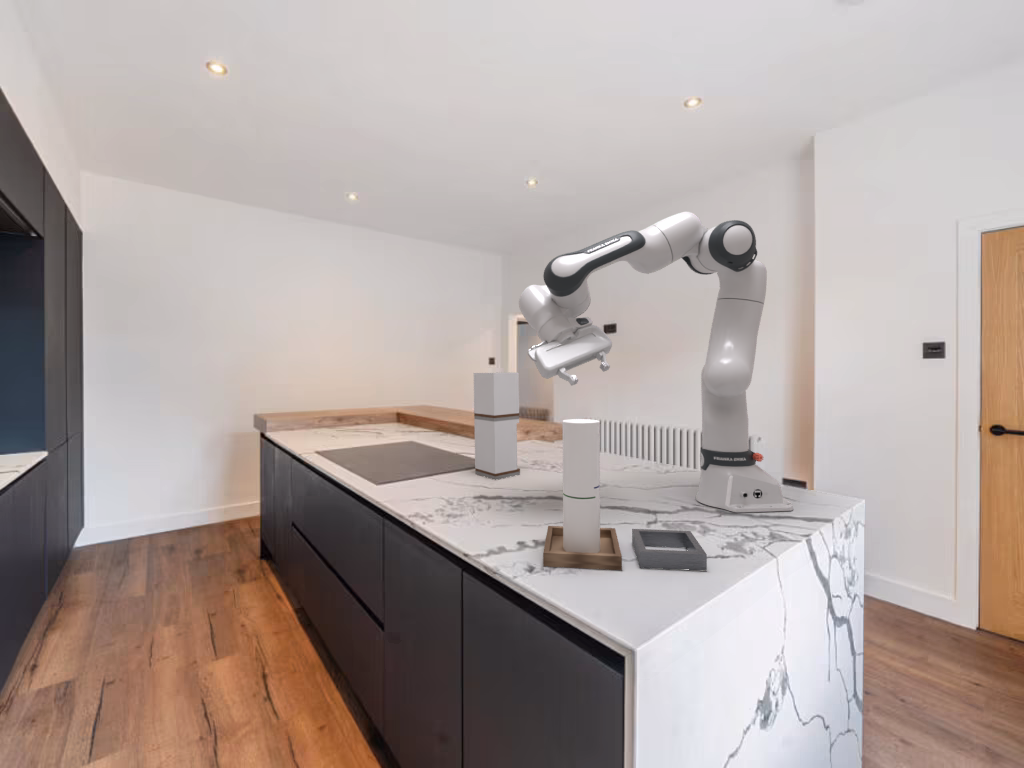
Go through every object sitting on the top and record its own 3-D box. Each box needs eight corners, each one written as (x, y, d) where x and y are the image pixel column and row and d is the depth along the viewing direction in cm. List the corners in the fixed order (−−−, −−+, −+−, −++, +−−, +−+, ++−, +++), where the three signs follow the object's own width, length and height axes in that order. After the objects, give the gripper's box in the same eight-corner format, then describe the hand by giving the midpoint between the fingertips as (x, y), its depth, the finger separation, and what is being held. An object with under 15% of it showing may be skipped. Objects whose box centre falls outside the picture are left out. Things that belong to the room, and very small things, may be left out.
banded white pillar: (520, 474, 151) (518, 372, 150) (495, 480, 144) (493, 372, 143) (499, 469, 160) (498, 372, 159) (475, 474, 153) (473, 373, 152)
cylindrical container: (607, 547, 87) (606, 420, 86) (587, 558, 82) (586, 424, 81) (576, 538, 92) (576, 418, 91) (556, 548, 86) (555, 421, 86)
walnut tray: (615, 540, 92) (615, 528, 92) (621, 570, 79) (621, 556, 79) (548, 537, 95) (548, 525, 94) (543, 566, 81) (543, 552, 81)
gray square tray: (690, 545, 89) (690, 530, 89) (706, 571, 78) (706, 554, 78) (632, 543, 91) (632, 528, 91) (640, 568, 79) (639, 551, 79)
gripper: (526, 341, 105) (557, 384, 99) (594, 315, 112) (628, 353, 106) (522, 357, 110) (552, 399, 104) (588, 331, 117) (620, 369, 111)
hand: (591, 376), depth 105 cm, fingers open, 8 cm apart
